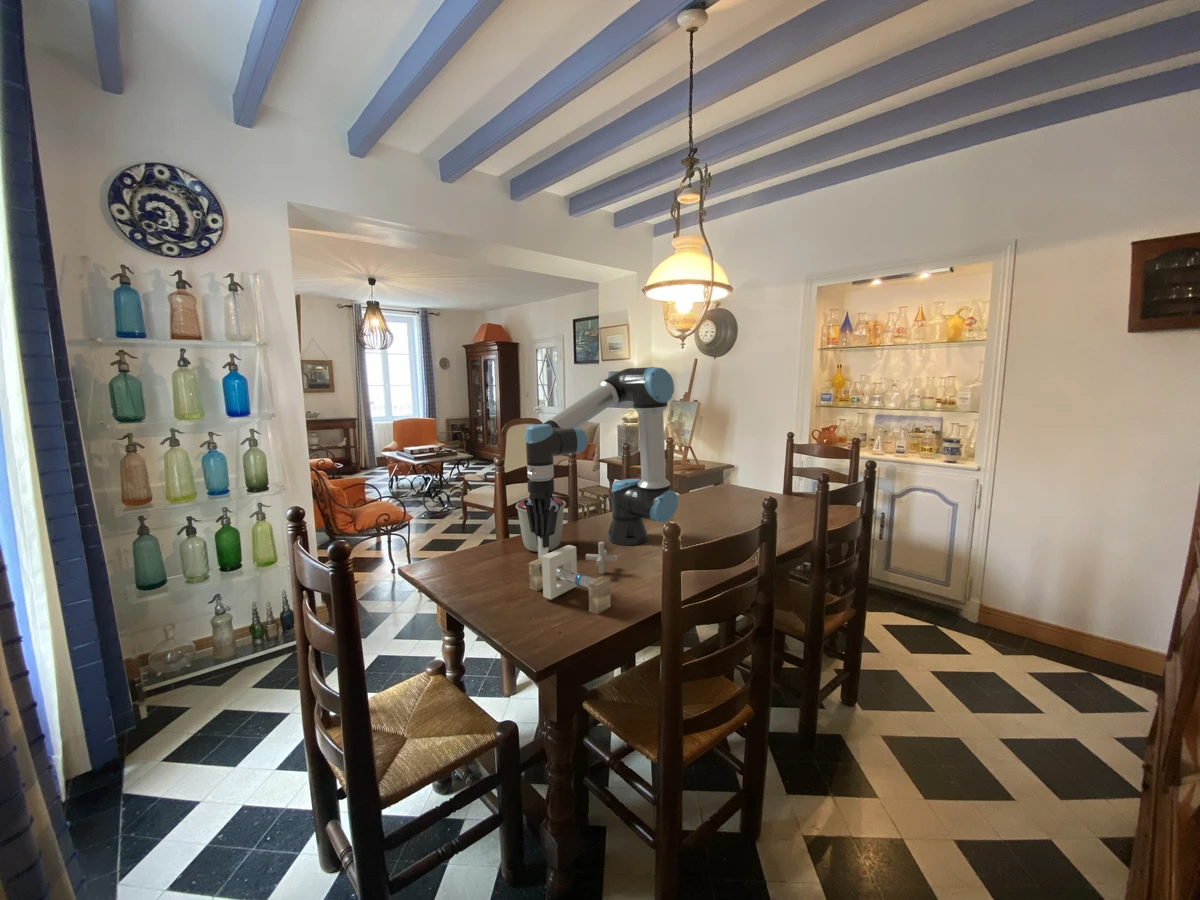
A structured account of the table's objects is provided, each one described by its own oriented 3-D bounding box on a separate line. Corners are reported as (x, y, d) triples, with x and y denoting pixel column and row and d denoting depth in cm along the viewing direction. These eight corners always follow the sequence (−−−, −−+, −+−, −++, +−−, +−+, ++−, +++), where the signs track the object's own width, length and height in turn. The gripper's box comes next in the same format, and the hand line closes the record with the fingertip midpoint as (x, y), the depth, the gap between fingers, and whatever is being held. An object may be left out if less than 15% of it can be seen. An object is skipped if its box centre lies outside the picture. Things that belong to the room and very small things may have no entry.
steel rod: (533, 572, 141) (532, 561, 141) (541, 568, 144) (540, 558, 143) (598, 595, 126) (598, 583, 125) (606, 590, 128) (606, 579, 128)
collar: (543, 596, 134) (541, 555, 132) (569, 583, 142) (568, 544, 140) (550, 599, 132) (549, 558, 130) (577, 585, 140) (576, 546, 138)
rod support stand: (529, 588, 141) (528, 563, 140) (543, 582, 145) (542, 557, 144) (597, 614, 125) (597, 585, 124) (610, 606, 129) (610, 578, 128)
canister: (532, 560, 163) (530, 500, 160) (509, 546, 177) (506, 491, 174) (576, 548, 174) (575, 492, 170) (551, 536, 188) (549, 483, 185)
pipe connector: (614, 580, 146) (614, 549, 144) (582, 578, 148) (582, 547, 146) (619, 567, 156) (619, 538, 154) (590, 565, 158) (589, 536, 156)
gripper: (515, 478, 137) (518, 556, 141) (547, 483, 129) (550, 566, 133) (534, 473, 143) (537, 548, 147) (566, 479, 135) (568, 558, 138)
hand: (543, 557), depth 140 cm, fingers closed
